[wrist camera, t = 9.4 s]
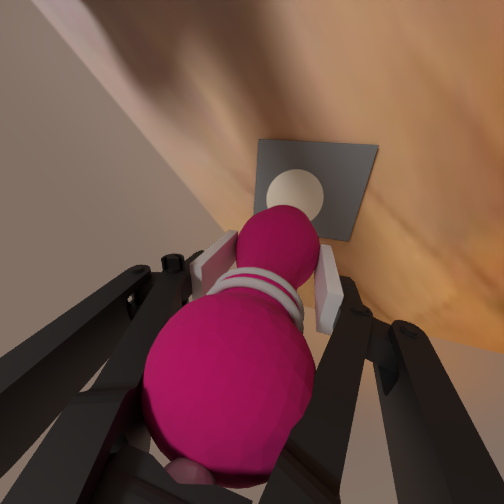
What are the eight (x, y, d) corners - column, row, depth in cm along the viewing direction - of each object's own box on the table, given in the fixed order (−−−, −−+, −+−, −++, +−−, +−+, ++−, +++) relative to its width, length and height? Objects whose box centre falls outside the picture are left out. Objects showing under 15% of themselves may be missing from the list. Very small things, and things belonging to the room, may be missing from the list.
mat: (253, 226, 43) (252, 227, 43) (259, 139, 36) (258, 138, 35) (348, 240, 39) (348, 241, 38) (377, 145, 32) (379, 145, 31)
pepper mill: (332, 220, 19) (594, 872, 2) (295, 273, 23) (248, 658, 5) (267, 187, 19) (-119, 419, 2) (241, 244, 23) (21, 512, 5)
